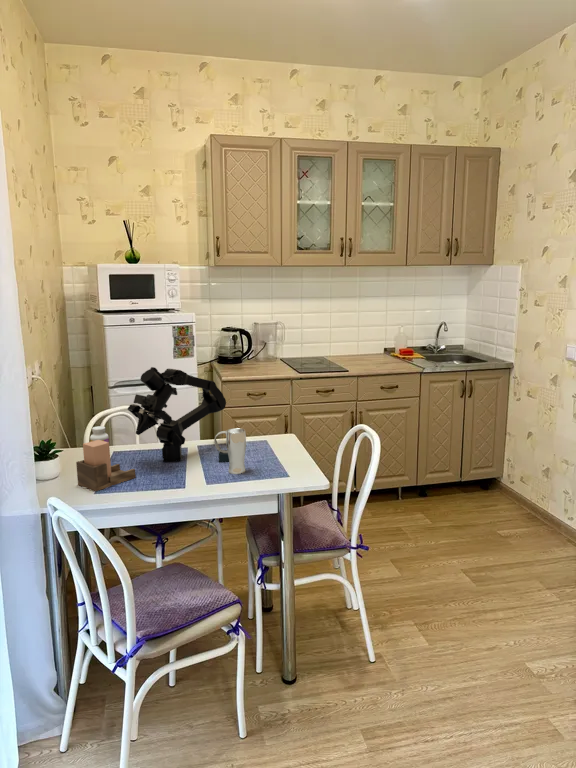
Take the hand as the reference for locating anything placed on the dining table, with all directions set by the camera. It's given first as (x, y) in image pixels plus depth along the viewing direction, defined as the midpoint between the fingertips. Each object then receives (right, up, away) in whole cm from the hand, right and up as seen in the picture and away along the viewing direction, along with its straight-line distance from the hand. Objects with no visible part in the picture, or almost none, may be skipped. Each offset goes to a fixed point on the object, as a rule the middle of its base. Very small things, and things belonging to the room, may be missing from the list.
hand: (137, 434), depth 207 cm
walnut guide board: (-8, -15, -8) cm, 19 cm away
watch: (+30, -11, +13) cm, 35 cm away
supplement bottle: (-17, -11, +14) cm, 25 cm away
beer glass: (+35, -13, +1) cm, 38 cm away
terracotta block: (-10, -15, -10) cm, 21 cm away
